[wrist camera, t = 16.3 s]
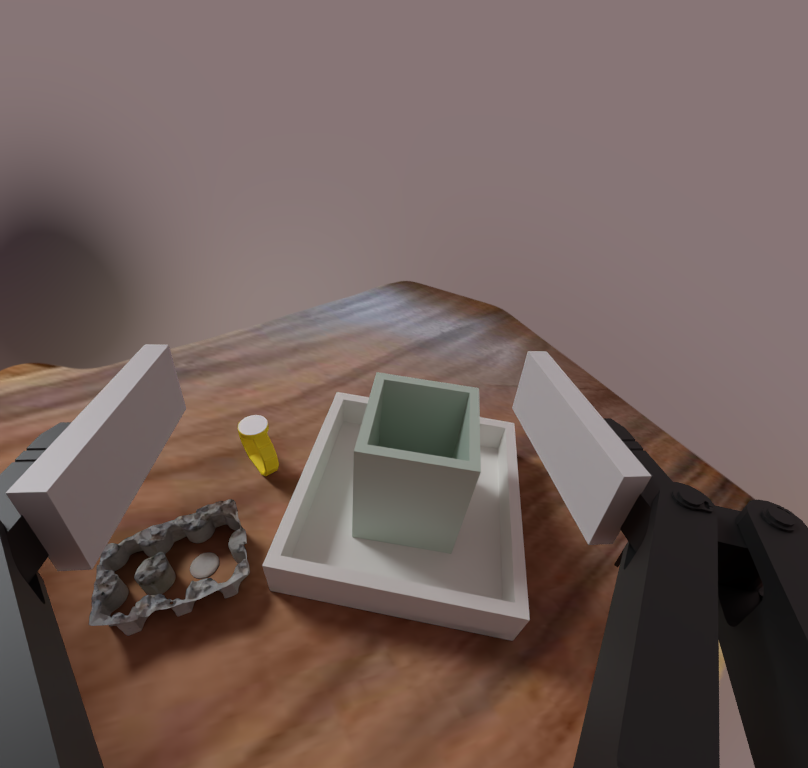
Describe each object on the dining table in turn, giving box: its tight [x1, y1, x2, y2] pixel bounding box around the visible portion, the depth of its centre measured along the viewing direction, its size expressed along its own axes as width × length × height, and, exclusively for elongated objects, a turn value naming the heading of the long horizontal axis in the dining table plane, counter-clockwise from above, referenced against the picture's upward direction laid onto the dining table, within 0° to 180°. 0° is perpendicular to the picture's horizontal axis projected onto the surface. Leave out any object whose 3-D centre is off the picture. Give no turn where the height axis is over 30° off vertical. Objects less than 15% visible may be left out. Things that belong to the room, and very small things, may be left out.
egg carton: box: [89, 499, 250, 636], centre depth 32 cm, size 11×8×4 cm
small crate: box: [352, 372, 481, 554], centre depth 35 cm, size 9×9×12 cm
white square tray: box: [262, 392, 530, 641], centre depth 38 cm, size 20×20×4 cm
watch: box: [237, 415, 279, 476], centre depth 40 cm, size 6×3×6 cm, turn 42°
